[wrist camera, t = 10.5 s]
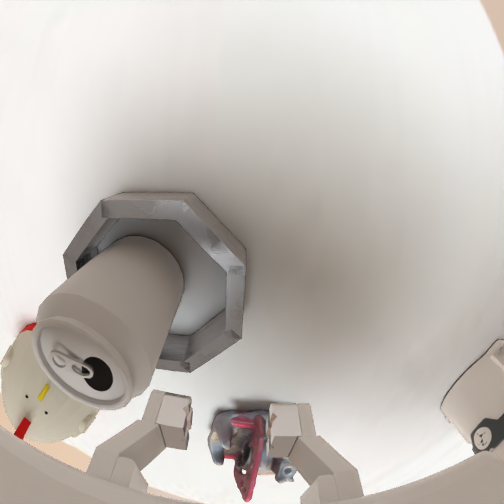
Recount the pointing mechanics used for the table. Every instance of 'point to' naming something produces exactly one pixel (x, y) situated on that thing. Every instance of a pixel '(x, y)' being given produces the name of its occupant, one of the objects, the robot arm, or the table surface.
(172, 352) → the steel ring
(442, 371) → the table surface
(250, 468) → the brake caliper
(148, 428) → the robot arm
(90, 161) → the table surface
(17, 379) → the kitchen timer
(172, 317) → the can
